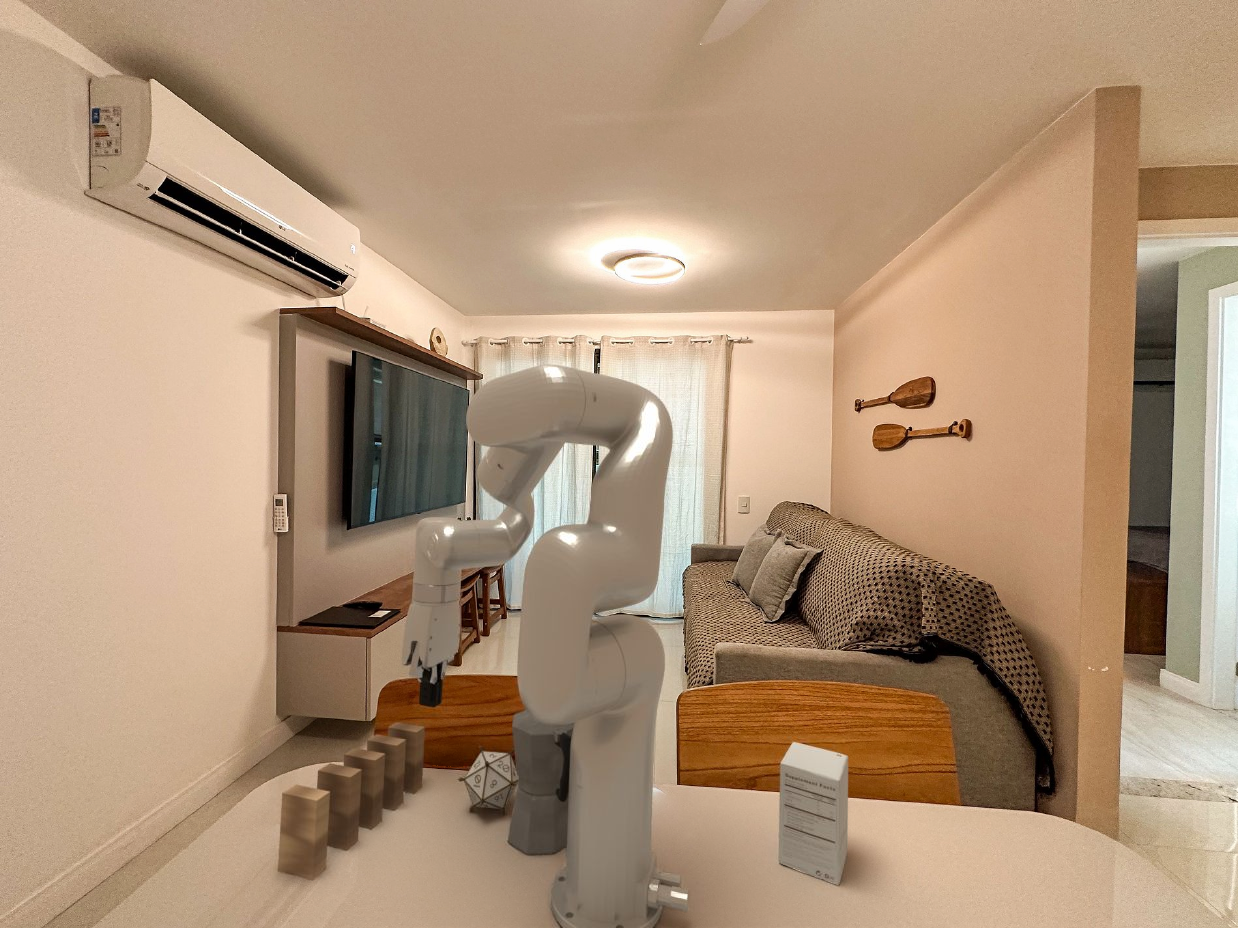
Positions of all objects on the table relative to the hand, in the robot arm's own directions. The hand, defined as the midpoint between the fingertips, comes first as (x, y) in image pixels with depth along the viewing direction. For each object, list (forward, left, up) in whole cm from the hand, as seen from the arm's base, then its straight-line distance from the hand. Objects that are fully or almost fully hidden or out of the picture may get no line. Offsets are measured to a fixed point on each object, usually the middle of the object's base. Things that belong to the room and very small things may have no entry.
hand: (430, 704), depth 91 cm
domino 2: (-1, +20, -10) cm, 23 cm away
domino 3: (-1, +16, -10) cm, 19 cm away
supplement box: (-60, +4, -10) cm, 61 cm away
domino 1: (-1, +26, -10) cm, 28 cm away
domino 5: (-1, +7, -10) cm, 12 cm away
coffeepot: (-26, +11, -10) cm, 30 cm away
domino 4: (-1, +11, -10) cm, 15 cm away
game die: (-16, +7, -10) cm, 20 cm away
